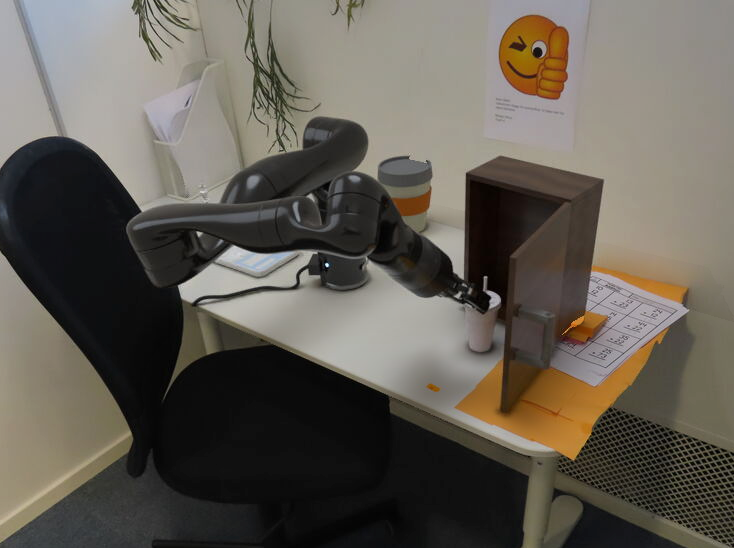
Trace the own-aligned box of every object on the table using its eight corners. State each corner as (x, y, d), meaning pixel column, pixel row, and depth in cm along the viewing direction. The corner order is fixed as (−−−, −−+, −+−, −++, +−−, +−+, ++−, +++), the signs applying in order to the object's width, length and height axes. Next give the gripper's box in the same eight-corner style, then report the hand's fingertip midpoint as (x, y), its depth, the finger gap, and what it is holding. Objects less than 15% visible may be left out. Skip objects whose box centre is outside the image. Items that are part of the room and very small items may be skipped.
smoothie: (487, 360, 118) (490, 289, 109) (455, 349, 121) (455, 279, 113) (505, 342, 122) (509, 272, 113) (473, 332, 125) (475, 263, 117)
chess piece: (203, 217, 175) (195, 179, 169) (222, 217, 174) (214, 179, 169) (197, 225, 171) (188, 187, 165) (216, 225, 170) (208, 187, 165)
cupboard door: (584, 356, 117) (606, 209, 101) (537, 424, 104) (554, 267, 88) (549, 346, 120) (565, 201, 104) (500, 411, 107) (509, 256, 91)
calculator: (240, 235, 165) (238, 227, 164) (302, 254, 155) (301, 246, 154) (198, 257, 157) (196, 249, 156) (260, 279, 146) (259, 271, 145)
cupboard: (554, 345, 120) (571, 199, 104) (463, 308, 132) (465, 172, 116) (584, 321, 125) (604, 179, 110) (493, 288, 137) (500, 155, 121)
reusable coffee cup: (424, 240, 156) (423, 177, 148) (372, 235, 160) (368, 173, 151) (439, 217, 166) (439, 156, 157) (390, 213, 170) (387, 153, 161)
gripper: (369, 272, 103) (420, 306, 116) (443, 302, 94) (489, 335, 108) (391, 227, 103) (440, 266, 116) (468, 254, 94) (511, 292, 107)
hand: (464, 299), depth 112 cm, fingers open, 8 cm apart
